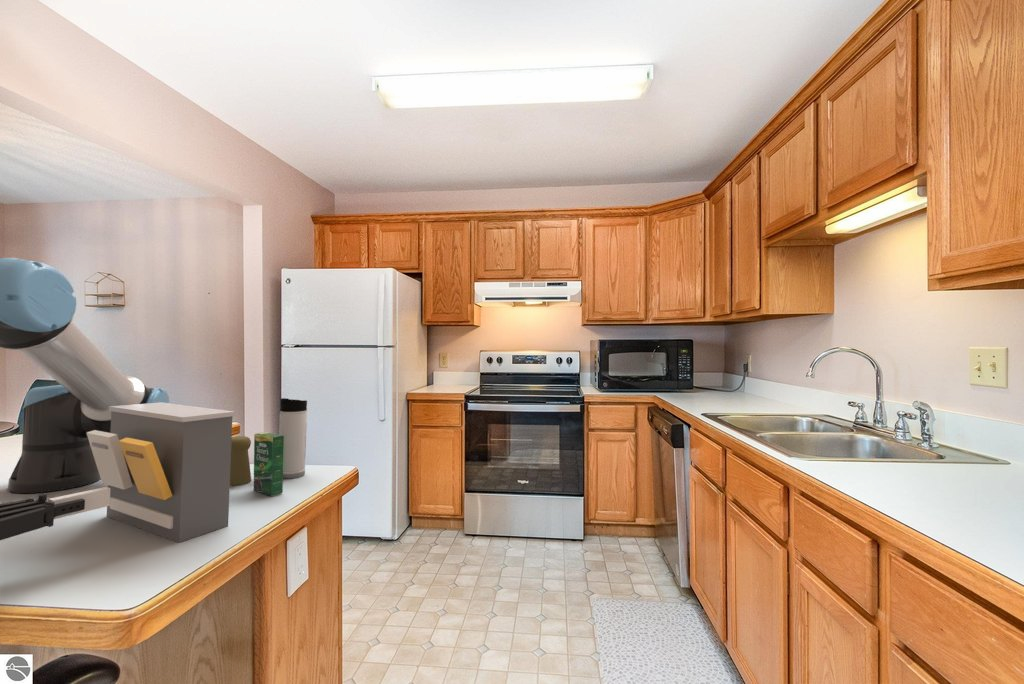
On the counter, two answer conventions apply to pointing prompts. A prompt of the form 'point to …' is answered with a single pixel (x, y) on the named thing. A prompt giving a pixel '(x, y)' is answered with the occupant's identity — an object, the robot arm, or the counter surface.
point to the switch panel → (177, 468)
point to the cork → (240, 461)
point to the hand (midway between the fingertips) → (107, 496)
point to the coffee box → (268, 463)
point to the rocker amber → (145, 468)
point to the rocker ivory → (109, 459)
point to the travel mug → (293, 436)
